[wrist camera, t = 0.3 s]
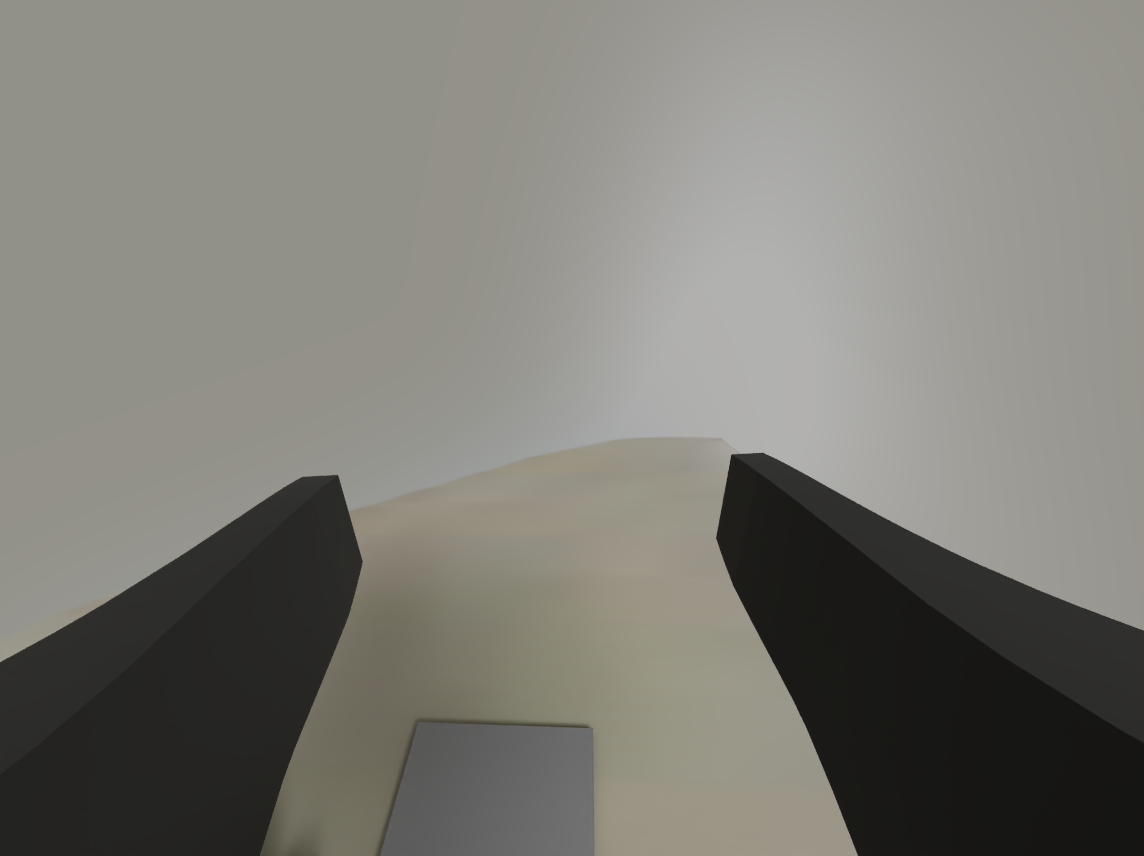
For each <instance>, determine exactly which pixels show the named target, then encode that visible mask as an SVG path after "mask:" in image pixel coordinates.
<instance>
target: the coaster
mask: <svg viewBox="0 0 1144 856" xmlns="http://www.w3.org/2000/svg"><path fill="white" fill-rule="evenodd" d="M380 856H594V782H593V728H571V727H544V726H516V725H489V724H461V723H434V722H418V725H417V728H416V732H415V735H414V739H413V742H412V745H411V749H410V752H409V756H408V759H407V763H406V766H405V770H404V773H403V777H402V780H401V784H400V787H399V790H398V794H397V797H396V801H395V804H394V808H393V811H392V815H391V818H390V822H389V825H388V829H387V832H386V836H385V839H384V842H383V846H382V849H381V853H380Z"/></svg>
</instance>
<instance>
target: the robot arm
mask: <svg viewBox="0 0 1144 856" xmlns="http://www.w3.org/2000/svg"><path fill="white" fill-rule="evenodd" d="M716 539H717V542H718V545H719V548H720V551H721V554H722V556H723V559H724V562H725V565H726V568H727V570H728V573H729V575H730V578H731V581H732V583H733V586H734V588H735V590H736V592H737V594H738V596H739V598H740V600H741V602H742V604H743V605H744V607H745V609H746V611H747V613H748V615H749V617H750V619H751V621H752V623H753V625H754V627H755V629H756V630H757V632H758V634H759V636H760V638H761V640H762V642H763V644H764V646H765V648H766V649H767V651H768V653H769V655H770V657H771V659H772V661H773V663H774V665H775V666H776V668H777V670H778V672H779V674H780V676H781V678H782V680H783V682H784V684H785V685H786V687H787V689H788V691H789V693H790V695H791V697H792V699H793V701H794V703H795V705H796V707H797V709H798V711H799V713H800V715H801V717H802V719H803V722H804V724H805V726H806V728H807V730H808V732H809V735H810V737H811V740H812V742H813V745H814V747H815V749H816V752H817V754H818V757H819V759H820V761H821V764H822V766H823V769H824V771H825V773H826V776H827V778H828V781H829V783H830V785H831V788H832V790H833V793H834V795H835V798H836V800H837V803H838V805H839V808H840V811H841V813H842V816H843V818H844V821H845V823H846V826H847V829H848V831H849V834H850V836H851V839H852V841H853V844H854V847H855V849H856V852H857V854H858V856H1144V631H1143V630H1140V629H1138V628H1135V627H1132V626H1129V625H1127V624H1124V623H1122V622H1119V621H1116V620H1114V619H1111V618H1108V617H1105V616H1103V615H1100V614H1098V613H1095V612H1092V611H1090V610H1087V609H1084V608H1081V607H1079V606H1076V605H1074V604H1071V603H1069V602H1066V601H1064V600H1061V599H1059V598H1056V597H1054V596H1051V595H1049V594H1046V593H1044V592H1041V591H1039V590H1036V589H1034V588H1032V587H1030V586H1027V585H1025V584H1023V583H1020V582H1018V581H1016V580H1013V579H1011V578H1009V577H1007V576H1004V575H1002V574H1000V573H997V572H995V571H993V570H990V569H988V568H986V567H983V566H981V565H979V564H977V563H974V562H972V561H970V560H968V559H965V558H964V557H961V556H959V555H957V554H955V553H953V552H951V551H949V550H947V549H944V548H943V547H940V546H939V545H937V544H935V543H933V542H930V541H929V540H926V539H925V538H922V537H920V536H918V535H916V534H914V533H912V532H910V531H908V530H906V529H904V528H902V527H900V526H899V525H897V524H895V523H893V522H891V521H889V520H887V519H885V518H883V517H881V516H879V515H878V514H876V513H874V512H872V511H870V510H868V509H867V508H865V507H863V506H861V505H859V504H857V503H856V502H854V501H852V500H850V499H848V498H846V497H845V496H843V495H841V494H839V493H838V492H836V491H834V490H832V489H830V488H829V487H827V486H825V485H823V484H821V483H819V482H818V481H816V480H814V479H812V478H811V477H809V476H807V475H805V474H803V473H802V472H800V471H798V470H796V469H794V468H792V467H790V466H789V465H787V464H785V463H783V462H781V461H779V460H777V459H775V458H773V457H771V456H769V455H766V454H764V453H752V454H732V455H731V460H730V465H729V471H728V476H727V482H726V487H725V493H724V498H723V504H722V509H721V515H720V520H719V526H718V531H717V537H716ZM362 562H363V561H362V558H361V554H360V551H359V547H358V544H357V540H356V537H355V533H354V530H353V526H352V522H351V519H350V515H349V512H348V508H347V505H346V501H345V498H344V494H343V491H342V487H341V484H340V480H339V477H338V475H331V476H312V477H302V478H300V479H298V480H296V481H294V482H293V483H291V484H289V485H287V486H286V487H284V488H283V489H281V490H280V491H278V492H276V493H275V494H273V495H272V496H270V497H269V498H267V499H266V500H264V501H263V502H261V503H259V504H258V505H256V506H255V507H254V508H252V509H251V510H249V511H248V512H246V513H245V514H243V515H242V516H241V517H239V518H237V519H236V520H234V521H233V522H231V523H230V524H228V525H227V526H225V527H224V528H222V529H221V530H219V531H218V532H216V533H215V534H213V535H212V536H210V537H209V538H207V539H206V540H204V541H203V542H201V543H200V544H198V545H197V546H195V547H194V548H192V549H191V550H189V551H188V552H186V553H185V554H183V555H181V556H180V557H178V558H177V559H175V560H174V561H172V562H170V563H169V564H167V565H165V566H164V567H162V568H161V569H159V570H157V571H156V572H154V573H153V574H151V575H150V576H148V577H146V578H145V579H143V580H142V581H140V582H138V583H137V584H135V585H134V586H132V587H130V588H129V589H127V590H125V591H124V592H122V593H121V594H119V595H117V596H116V597H114V598H113V599H111V600H109V601H108V602H106V603H105V604H103V605H101V606H100V607H98V608H96V609H94V610H93V611H91V612H89V613H88V614H86V615H84V616H83V617H81V618H79V619H77V620H76V621H74V622H72V623H70V624H69V625H67V626H65V627H63V628H62V629H60V630H58V631H56V632H55V633H53V634H51V635H49V636H47V637H46V638H44V639H42V640H40V641H38V642H36V643H35V644H33V645H31V646H29V647H27V648H26V649H24V650H22V651H20V652H18V653H16V654H15V655H13V656H11V657H9V658H7V659H5V660H4V661H2V662H0V856H260V852H261V849H262V846H263V843H264V840H265V836H266V833H267V830H268V827H269V823H270V820H271V817H272V814H273V810H274V807H275V804H276V801H277V797H278V794H279V791H280V788H281V784H282V781H283V779H284V776H285V773H286V770H287V768H288V765H289V762H290V760H291V757H292V754H293V751H294V749H295V746H296V744H297V741H298V739H299V736H300V734H301V731H302V729H303V727H304V724H305V722H306V719H307V717H308V714H309V712H310V710H311V707H312V705H313V702H314V700H315V697H316V695H317V693H318V690H319V688H320V685H321V683H322V680H323V678H324V676H325V673H326V671H327V668H328V666H329V663H330V661H331V659H332V656H333V654H334V651H335V649H336V646H337V644H338V641H339V639H340V636H341V634H342V631H343V629H344V626H345V624H346V621H347V618H348V616H349V613H350V609H351V606H352V602H353V598H354V595H355V591H356V587H357V583H358V579H359V575H360V571H361V567H362Z"/></svg>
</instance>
